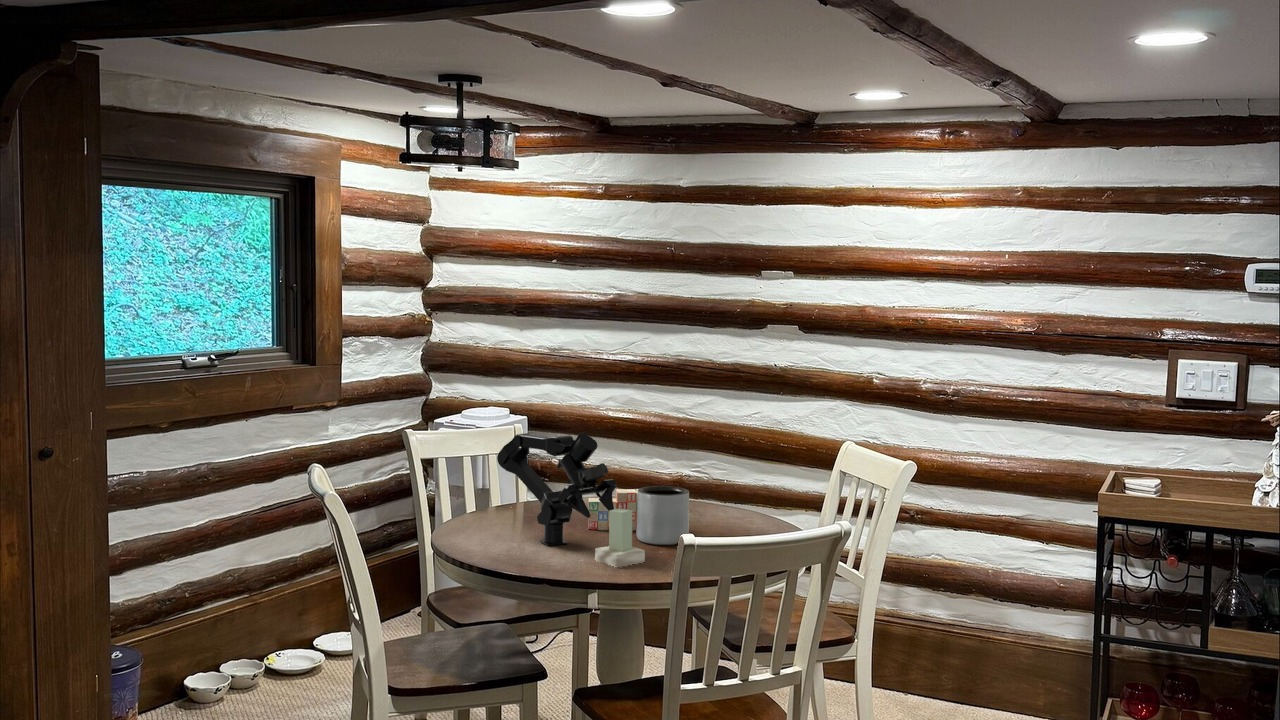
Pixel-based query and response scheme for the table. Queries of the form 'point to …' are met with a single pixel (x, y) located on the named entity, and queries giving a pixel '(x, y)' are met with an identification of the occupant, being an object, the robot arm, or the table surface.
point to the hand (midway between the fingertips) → (601, 514)
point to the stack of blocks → (622, 500)
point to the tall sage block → (620, 529)
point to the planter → (662, 514)
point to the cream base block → (619, 556)
